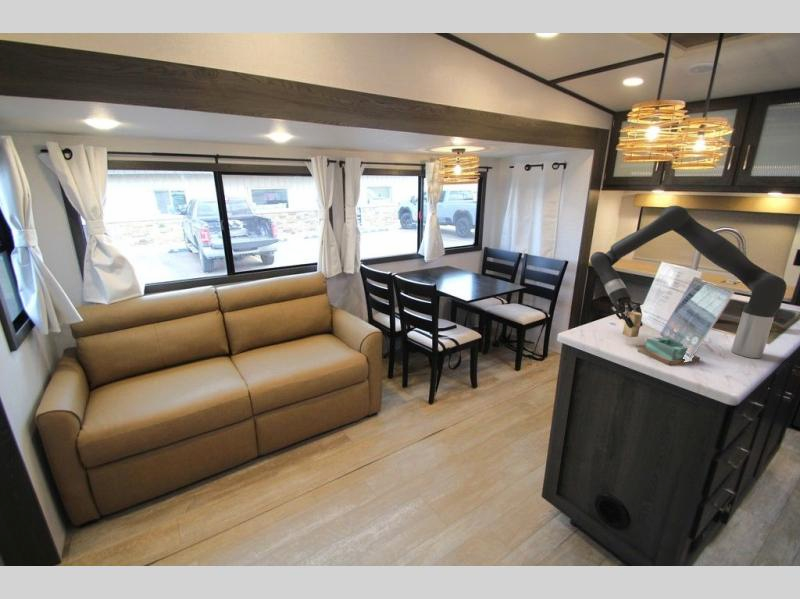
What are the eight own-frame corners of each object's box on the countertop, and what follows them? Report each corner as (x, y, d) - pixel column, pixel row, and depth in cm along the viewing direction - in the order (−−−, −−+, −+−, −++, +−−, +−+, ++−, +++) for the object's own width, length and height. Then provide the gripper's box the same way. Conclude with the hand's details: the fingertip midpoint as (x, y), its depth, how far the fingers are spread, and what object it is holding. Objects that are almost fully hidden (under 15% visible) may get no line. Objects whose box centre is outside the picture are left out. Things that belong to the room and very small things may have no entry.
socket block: (667, 347, 154) (670, 335, 153) (699, 360, 142) (702, 347, 141) (637, 351, 150) (640, 338, 148) (668, 365, 138) (671, 351, 136)
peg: (629, 333, 159) (634, 311, 156) (637, 336, 155) (642, 314, 152) (622, 334, 157) (626, 311, 155) (630, 337, 154) (635, 314, 151)
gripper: (610, 288, 156) (629, 324, 148) (636, 286, 160) (656, 321, 152) (598, 296, 162) (616, 332, 154) (623, 295, 166) (642, 329, 158)
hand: (636, 326), depth 153 cm, fingers closed on peg, 4 cm apart
